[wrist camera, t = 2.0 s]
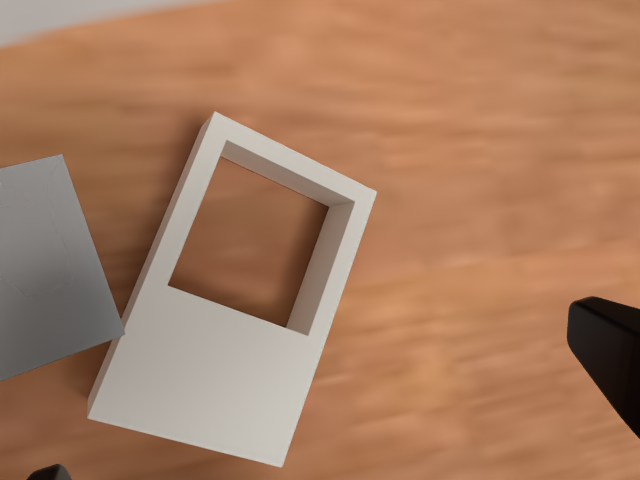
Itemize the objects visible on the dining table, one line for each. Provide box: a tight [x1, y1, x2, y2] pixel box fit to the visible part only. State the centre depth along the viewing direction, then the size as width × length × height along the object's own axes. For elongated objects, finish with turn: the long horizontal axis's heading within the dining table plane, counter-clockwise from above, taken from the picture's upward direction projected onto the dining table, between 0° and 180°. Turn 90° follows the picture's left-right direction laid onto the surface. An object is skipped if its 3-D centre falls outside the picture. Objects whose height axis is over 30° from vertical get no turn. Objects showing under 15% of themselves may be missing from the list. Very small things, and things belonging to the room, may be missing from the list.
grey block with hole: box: [87, 111, 377, 468], centre depth 20 cm, size 11×7×2 cm, turn 158°
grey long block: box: [0, 154, 126, 381], centre depth 13 cm, size 3×3×12 cm
